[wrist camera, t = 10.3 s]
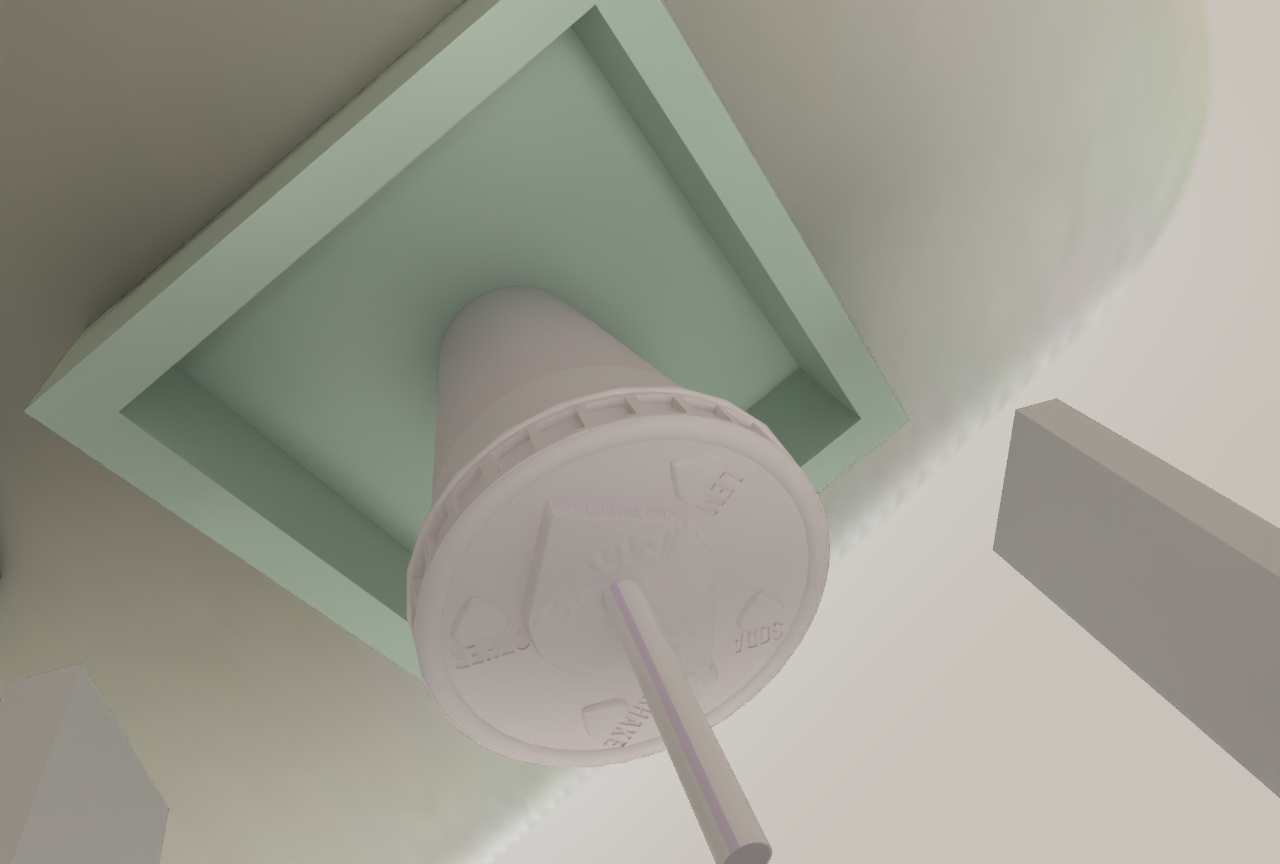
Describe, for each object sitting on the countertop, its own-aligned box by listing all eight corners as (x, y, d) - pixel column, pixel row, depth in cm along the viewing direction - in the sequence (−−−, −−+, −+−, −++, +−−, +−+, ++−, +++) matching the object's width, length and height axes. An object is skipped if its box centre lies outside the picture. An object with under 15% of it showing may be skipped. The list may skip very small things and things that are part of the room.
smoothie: (556, 171, 18) (943, 500, 7) (685, 381, 22) (1089, 840, 10) (317, 334, 18) (281, 949, 7) (484, 519, 22) (653, 1136, 10)
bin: (83, 330, 18) (23, 411, 14) (554, -76, 17) (606, -92, 14) (484, 637, 25) (507, 739, 21) (829, 358, 24) (909, 419, 21)
